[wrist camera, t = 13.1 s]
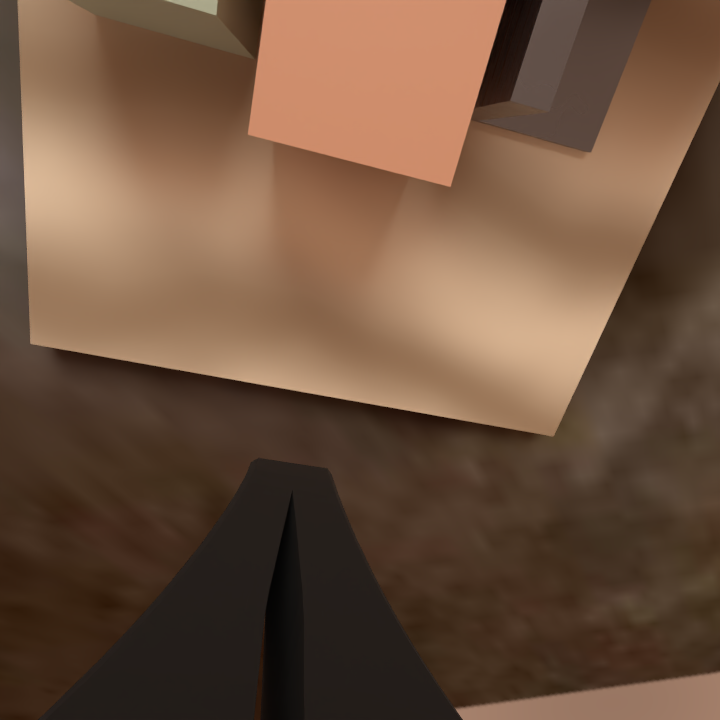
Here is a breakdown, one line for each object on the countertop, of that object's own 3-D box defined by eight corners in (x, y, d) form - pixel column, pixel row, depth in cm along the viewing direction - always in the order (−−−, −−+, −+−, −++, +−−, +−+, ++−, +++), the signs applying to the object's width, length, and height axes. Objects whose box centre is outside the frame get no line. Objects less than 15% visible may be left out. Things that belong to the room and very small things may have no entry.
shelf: (540, 419, 19) (673, 593, 12) (49, 330, 17) (-174, 485, 9) (761, -73, 13) (1322, -346, 6) (36, -351, 10) (-692, -1587, 3)
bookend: (586, 151, 14) (708, 157, 10) (448, 113, 14) (510, 100, 9) (673, -72, 12) (881, -197, 8) (516, -130, 11) (639, -304, 7)
